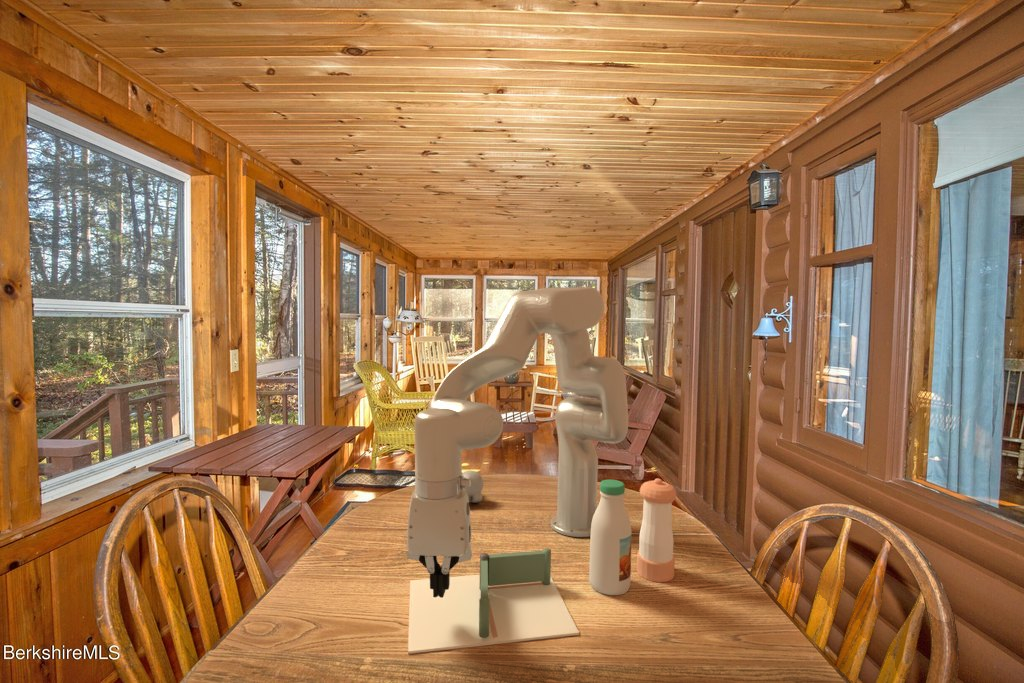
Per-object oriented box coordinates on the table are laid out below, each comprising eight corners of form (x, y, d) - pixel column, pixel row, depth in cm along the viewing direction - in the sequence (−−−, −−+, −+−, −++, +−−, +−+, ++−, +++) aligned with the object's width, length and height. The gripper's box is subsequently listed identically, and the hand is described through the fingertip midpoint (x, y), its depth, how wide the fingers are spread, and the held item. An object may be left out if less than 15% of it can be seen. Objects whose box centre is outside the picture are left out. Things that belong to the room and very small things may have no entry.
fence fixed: (549, 582, 94) (549, 547, 94) (551, 586, 93) (552, 551, 92) (478, 588, 92) (479, 553, 91) (480, 593, 90) (480, 557, 90)
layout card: (546, 570, 98) (547, 568, 98) (578, 634, 79) (579, 631, 79) (410, 582, 93) (410, 579, 93) (408, 654, 74) (408, 650, 74)
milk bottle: (606, 601, 88) (609, 492, 87) (581, 580, 95) (583, 479, 94) (638, 590, 92) (642, 486, 91) (612, 571, 99) (615, 473, 98)
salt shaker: (664, 586, 93) (667, 488, 92) (630, 572, 98) (632, 479, 97) (680, 572, 99) (683, 479, 98) (647, 559, 104) (649, 470, 103)
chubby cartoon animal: (480, 503, 140) (480, 472, 143) (484, 502, 129) (484, 469, 132) (455, 503, 139) (456, 473, 142) (457, 503, 128) (457, 469, 130)
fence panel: (479, 590, 89) (479, 560, 89) (488, 589, 89) (488, 560, 89) (478, 637, 76) (479, 603, 76) (489, 637, 76) (489, 602, 76)
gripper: (486, 477, 83) (487, 581, 85) (400, 476, 84) (401, 578, 85) (481, 495, 76) (482, 608, 77) (386, 493, 76) (388, 605, 78)
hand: (439, 592), depth 81 cm, fingers closed
